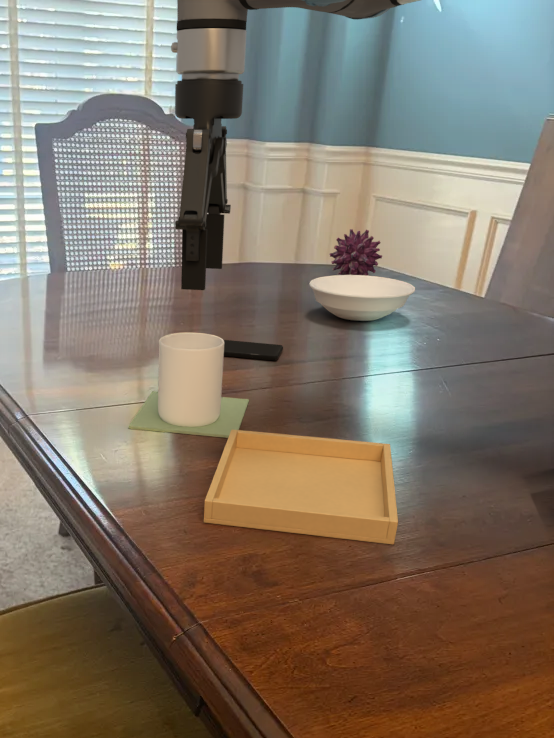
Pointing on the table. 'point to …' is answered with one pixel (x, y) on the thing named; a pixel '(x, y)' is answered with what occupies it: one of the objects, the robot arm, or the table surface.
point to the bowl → (360, 295)
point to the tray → (305, 486)
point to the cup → (190, 378)
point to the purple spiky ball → (356, 254)
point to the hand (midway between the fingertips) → (202, 278)
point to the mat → (221, 427)
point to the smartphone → (252, 350)
